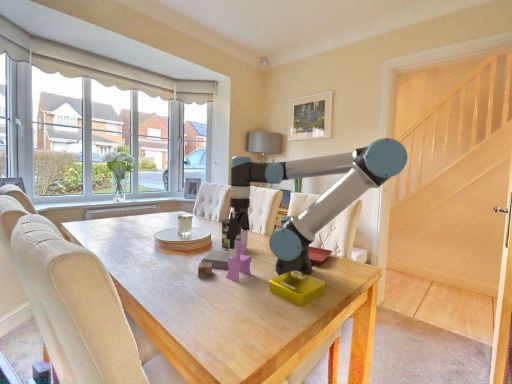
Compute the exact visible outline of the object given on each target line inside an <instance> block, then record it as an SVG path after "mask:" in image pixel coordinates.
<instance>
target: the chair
mask: <svg viewBox="0 0 512 384" xmlns="http://www.w3.org/2000/svg"><path fill="white" fill-rule="evenodd" d="M228 247H229V242H228ZM246 250H247V247H246V246H245V245H244V244H243V243H242V242H240V241H237V249H236V258H235V257H229V258H228V267H229V269H227V270H228V271H227V274H226V276H225V279H228V280H232V281H236V282H240V280H241V279H240V276H239V273H243V274H246V275H247V274H248V275H251V273H252V272H251V268H250V267H251V262H252V256H250V255H245V254H244V253H245V252H246Z"/></svg>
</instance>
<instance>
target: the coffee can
mask: <svg viewBox="0 0 512 384" xmlns="http://www.w3.org/2000/svg"><path fill="white" fill-rule="evenodd" d="M229 222H230V218H228V219H227V218H226V219H223V220H221V249H222V250H223V251H229V247H228V242H229V240H228V239H226V237H227V233H228V228H229ZM241 230H242V228H241V225H239V228H238V232H237V236H236V240H237V241H240V242H241Z"/></svg>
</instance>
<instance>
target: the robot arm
mask: <svg viewBox="0 0 512 384" xmlns="http://www.w3.org/2000/svg"><path fill="white" fill-rule="evenodd" d="M407 163H408V151H407V149H406V147H405V145H404V144H402V143H401V142H400V141H399V140H397V139H393V138H389V137H384V138H383V137H382V138H379V139H376V140H374V141H373V142H371V143H370V144H369V145H368V146H363V147H359V148H358V147H357V148H354V149H353V151H351V152H350V151H349V152H342V153H337V154H329V155H322V156H315V157H308V158H301V159H294V160H286V161H278V162H256V161H253V160H252V157H251V156H241V155H239V156H238V155H234V156H232V158H231V164H230V187H229V190H230V196H231V197H230V199H229V205H230V208H233V211H230V216H229V217H230V218H229V219H230V222H229V228H228V233H227V237H226V239H228V240H229V250H228V252H229V257H235V258H236V249H237V240H236V236H237V232H238V228H239V225H241V242H242V243H243V244H244V245H245V246H246V248H247V247H248V232H249V231H250V230H251V227H250V218H249V208H250V205H251V203H250V202H251V198H250V197H251V183H258V184H270V185H278V184H281V183H282V182H283V181H290V180H297V179H306V178H316V177H317V178H318V177H323V176H324V177H325V176H333V175H342V174H343V176H342V177H340V179H338V180H337V181H336V182H334V184H332V185H331V186H330V187H329V188H328V189H327V190H325V191H324V193H321V195H320V196H318V198H317V199H316V200H314V201H313V202H312V203H311V204H310V205H309V206H307V208H305V209H304V210H303V211H302V212H301V213H300V214H299V215H296V214H295V215H294V214H292V215H283V216H282V217H281V221H280V222H281V223H280V226H279V227H277V228H276V229H274V230H273V231H272V232H271V235H270V237H269V240H268V241H269V242H268V244H269V250H270V251H271V253H272V254H273V256H275V257H276V259H277V260H276V263H275V272H277V274H279V275H282V274H284V273H287V272H289V271H292V270H296V271H299V272H302V273H305V274H307V275H310V276H312V273H313V266H312V265H313V264H311V261H310V257H309V246H310V245H312V243H314V241H315V240H316V234H317V233H318V232H320V231H321V230H322V229H324V227H326V226H327V225H328V224H329V223H330V222H331V221H332V220H334V219H335V218H336V217H337V216H339V215H340V214H341V213H342V212H344V210H346V209H347V208H348V207H349V206H351V205H352V204H353V203H354V202H355V201H356V200H358V199H359V198H360V197H362V195H364V194H365V193H366V192H367V191H368V190H370V189H378V188H379V187H381V186H382V185H384V184H385V183H386V182H387V181H388V180H389V179H391V178H392V177H395V176H397V175H399V174H400V173H401V172H403V170H404V169H405V167H406V165H407Z"/></svg>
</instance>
